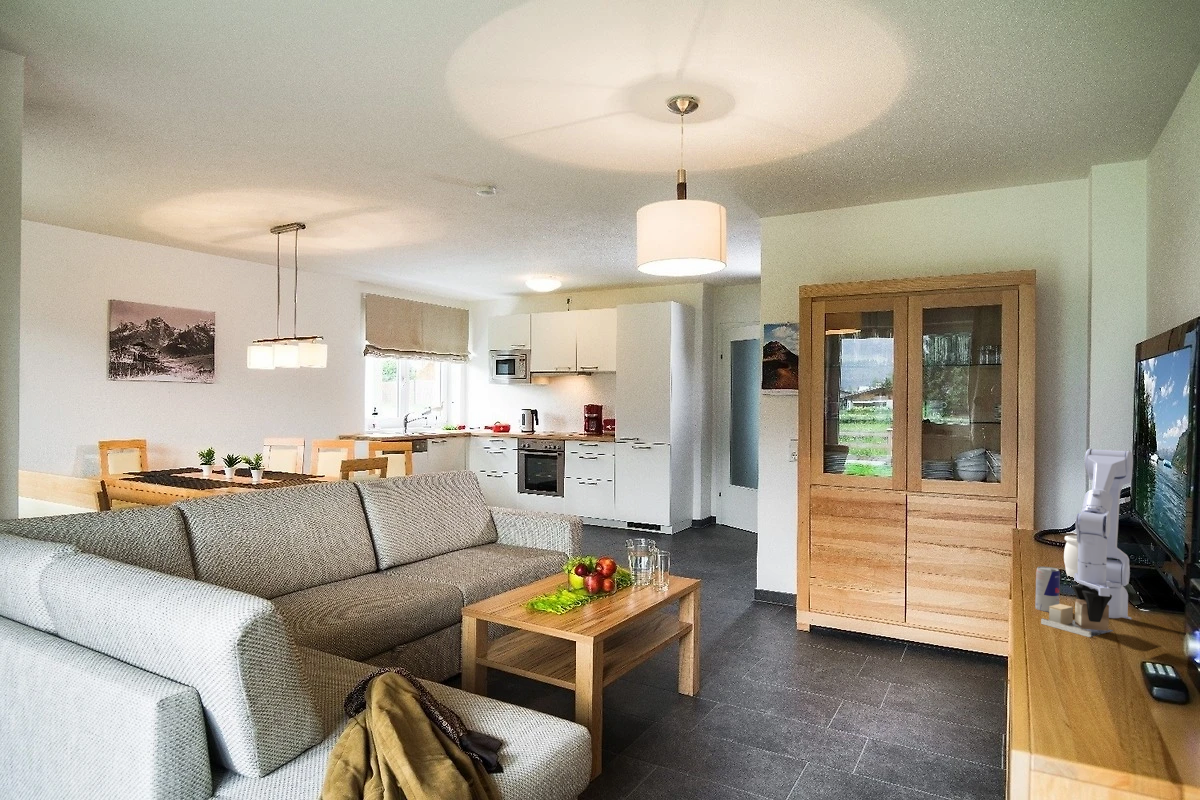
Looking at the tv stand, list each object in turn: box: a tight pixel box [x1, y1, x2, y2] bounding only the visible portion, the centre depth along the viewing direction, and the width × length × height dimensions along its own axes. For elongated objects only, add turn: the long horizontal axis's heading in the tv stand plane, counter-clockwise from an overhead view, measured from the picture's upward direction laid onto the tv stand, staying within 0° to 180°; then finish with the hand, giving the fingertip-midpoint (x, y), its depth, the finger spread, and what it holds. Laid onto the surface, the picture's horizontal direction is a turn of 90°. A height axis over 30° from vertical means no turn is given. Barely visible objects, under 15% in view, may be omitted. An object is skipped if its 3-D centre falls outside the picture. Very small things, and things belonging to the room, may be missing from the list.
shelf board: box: [1040, 618, 1114, 638], centre depth 175 cm, size 11×11×2 cm
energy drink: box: [1034, 566, 1061, 613], centre depth 190 cm, size 5×5×12 cm
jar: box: [1063, 535, 1078, 578], centre depth 219 cm, size 11×10×15 cm
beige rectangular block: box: [1048, 603, 1074, 625], centre depth 179 cm, size 5×3×4 cm, turn 119°
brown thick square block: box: [1074, 598, 1110, 631], centre depth 173 cm, size 4×6×6 cm
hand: (1090, 618), depth 173 cm, fingers closed on brown thick square block, 4 cm apart
